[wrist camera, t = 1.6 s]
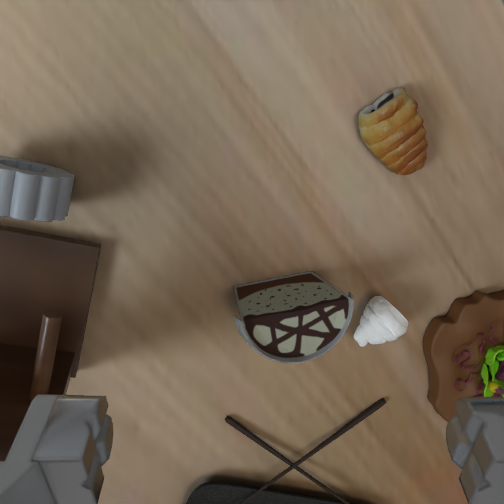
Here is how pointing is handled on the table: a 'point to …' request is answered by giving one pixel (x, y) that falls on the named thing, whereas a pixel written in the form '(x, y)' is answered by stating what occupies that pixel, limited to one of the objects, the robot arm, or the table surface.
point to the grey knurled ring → (34, 190)
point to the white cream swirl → (380, 323)
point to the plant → (466, 352)
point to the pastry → (394, 132)
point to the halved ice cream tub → (292, 316)
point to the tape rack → (40, 319)
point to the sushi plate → (263, 500)
